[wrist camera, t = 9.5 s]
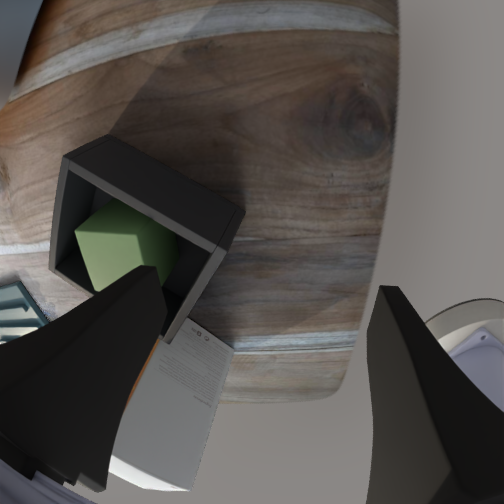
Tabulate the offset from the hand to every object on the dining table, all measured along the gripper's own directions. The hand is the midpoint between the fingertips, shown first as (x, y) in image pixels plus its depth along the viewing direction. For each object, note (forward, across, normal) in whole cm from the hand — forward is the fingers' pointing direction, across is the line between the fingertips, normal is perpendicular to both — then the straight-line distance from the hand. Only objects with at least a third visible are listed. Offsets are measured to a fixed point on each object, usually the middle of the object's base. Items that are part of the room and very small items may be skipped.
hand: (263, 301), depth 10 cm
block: (+9, +9, +3) cm, 13 cm away
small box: (+10, +9, +15) cm, 20 cm away
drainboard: (+9, +36, +19) cm, 42 cm away
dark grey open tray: (+9, +9, +3) cm, 13 cm away
